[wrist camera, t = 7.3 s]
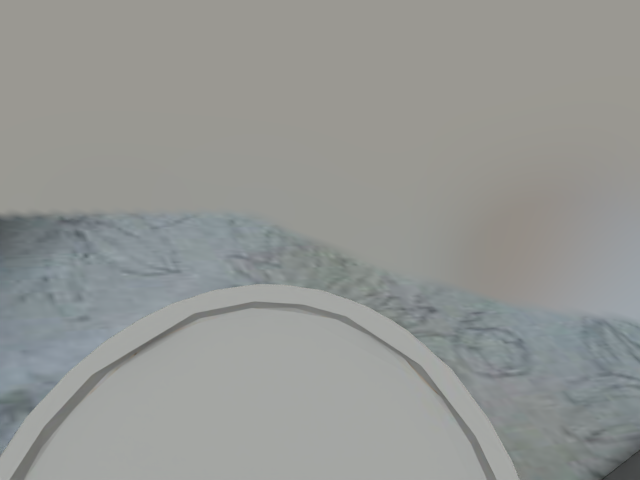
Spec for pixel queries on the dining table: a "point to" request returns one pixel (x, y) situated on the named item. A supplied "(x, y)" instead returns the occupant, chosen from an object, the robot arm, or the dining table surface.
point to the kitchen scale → (627, 470)
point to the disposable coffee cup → (259, 400)
